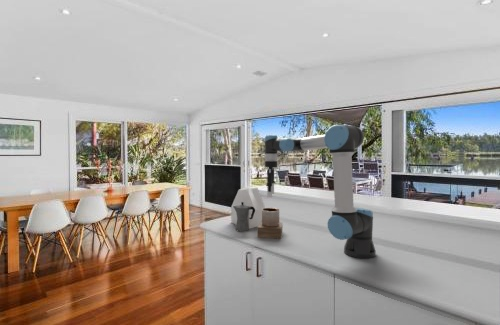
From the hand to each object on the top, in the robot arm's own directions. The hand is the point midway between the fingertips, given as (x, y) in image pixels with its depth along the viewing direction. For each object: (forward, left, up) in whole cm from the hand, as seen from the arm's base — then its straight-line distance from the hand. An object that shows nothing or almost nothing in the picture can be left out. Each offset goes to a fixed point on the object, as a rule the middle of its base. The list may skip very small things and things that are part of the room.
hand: (270, 195), depth 182 cm
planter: (0, 0, -19) cm, 19 cm away
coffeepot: (+8, +18, -25) cm, 32 cm away
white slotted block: (+23, +18, -25) cm, 38 cm away
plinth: (0, 0, -24) cm, 24 cm away
